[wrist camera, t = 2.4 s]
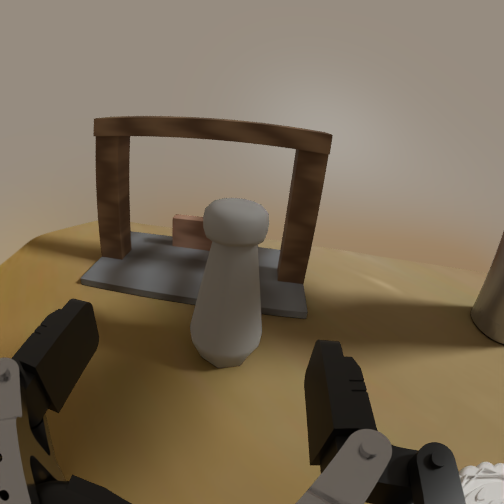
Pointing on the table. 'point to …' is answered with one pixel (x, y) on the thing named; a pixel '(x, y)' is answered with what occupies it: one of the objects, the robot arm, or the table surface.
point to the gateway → (191, 227)
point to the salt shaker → (230, 283)
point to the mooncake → (483, 483)
